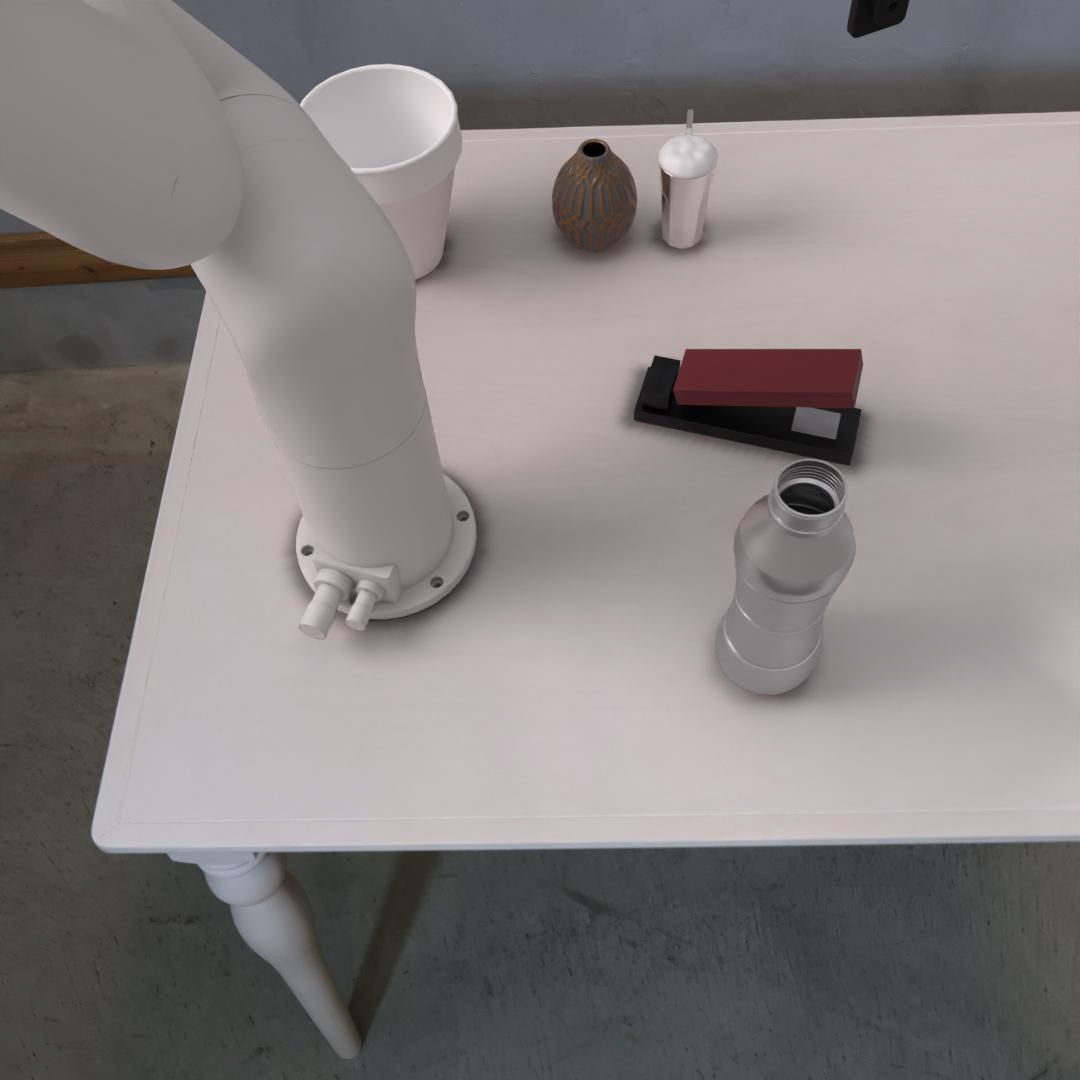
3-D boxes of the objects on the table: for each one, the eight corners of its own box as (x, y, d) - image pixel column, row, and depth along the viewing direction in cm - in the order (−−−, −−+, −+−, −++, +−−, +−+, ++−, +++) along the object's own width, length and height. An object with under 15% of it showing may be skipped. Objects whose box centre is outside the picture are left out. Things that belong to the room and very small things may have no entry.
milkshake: (709, 210, 95) (720, 110, 87) (708, 255, 93) (719, 157, 84) (656, 208, 96) (661, 108, 87) (653, 253, 93) (658, 155, 84)
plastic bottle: (836, 674, 73) (907, 503, 56) (748, 724, 71) (794, 565, 54) (776, 598, 76) (827, 415, 59) (692, 645, 74) (718, 470, 57)
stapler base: (858, 418, 83) (867, 392, 81) (849, 465, 81) (857, 440, 78) (647, 376, 86) (649, 349, 84) (633, 420, 84) (634, 394, 81)
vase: (540, 220, 96) (535, 134, 88) (614, 196, 97) (616, 109, 89) (573, 273, 92) (571, 189, 85) (649, 248, 93) (654, 162, 86)
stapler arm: (863, 364, 78) (861, 348, 77) (854, 408, 76) (852, 392, 75) (690, 363, 83) (685, 348, 82) (677, 405, 81) (672, 390, 80)
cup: (311, 228, 96) (271, 91, 85) (445, 185, 98) (424, 45, 87) (356, 326, 90) (320, 192, 79) (498, 277, 92) (483, 140, 81)
